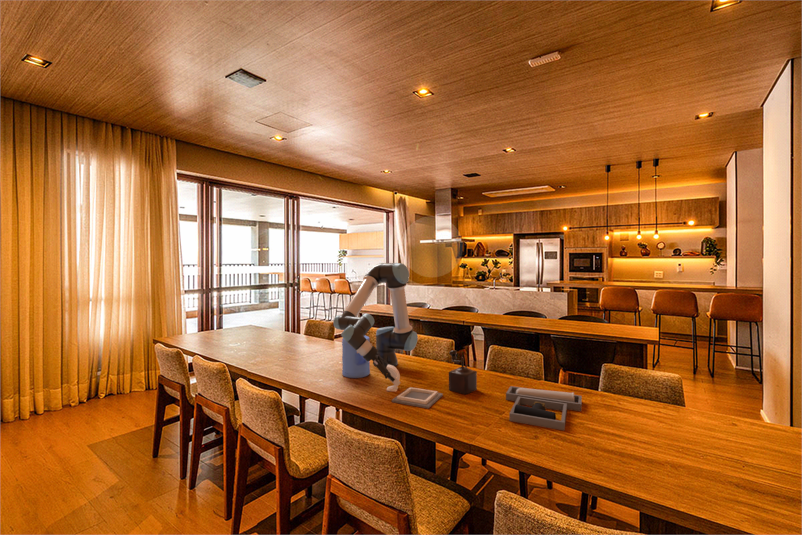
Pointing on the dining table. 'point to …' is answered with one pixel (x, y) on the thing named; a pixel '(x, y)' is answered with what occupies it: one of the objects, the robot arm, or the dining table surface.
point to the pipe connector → (535, 411)
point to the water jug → (353, 362)
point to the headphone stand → (394, 369)
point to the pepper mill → (462, 377)
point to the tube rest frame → (570, 405)
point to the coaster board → (418, 397)
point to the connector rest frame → (538, 420)
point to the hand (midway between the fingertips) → (397, 380)
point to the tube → (547, 394)
